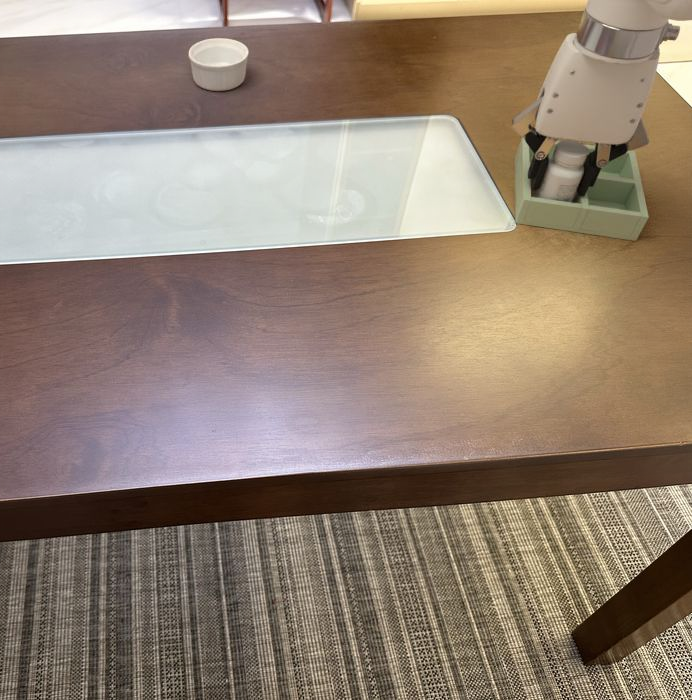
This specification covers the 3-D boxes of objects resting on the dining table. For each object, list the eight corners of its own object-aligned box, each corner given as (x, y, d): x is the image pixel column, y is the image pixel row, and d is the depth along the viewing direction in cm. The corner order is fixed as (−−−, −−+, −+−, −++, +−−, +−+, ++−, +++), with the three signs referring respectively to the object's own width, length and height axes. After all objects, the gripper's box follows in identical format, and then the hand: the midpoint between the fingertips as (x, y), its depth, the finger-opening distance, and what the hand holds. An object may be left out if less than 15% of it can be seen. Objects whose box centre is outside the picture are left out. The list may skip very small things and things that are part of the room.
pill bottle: (575, 203, 87) (599, 147, 81) (558, 220, 85) (582, 163, 79) (541, 188, 89) (562, 132, 83) (524, 204, 87) (545, 148, 81)
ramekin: (182, 90, 107) (181, 62, 104) (198, 61, 113) (197, 34, 110) (240, 97, 106) (241, 69, 103) (253, 68, 111) (254, 40, 108)
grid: (623, 174, 93) (635, 150, 90) (635, 241, 84) (649, 217, 81) (514, 159, 95) (522, 136, 92) (515, 223, 86) (524, 199, 84)
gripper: (703, 25, 72) (629, 178, 86) (529, 8, 75) (483, 159, 89) (718, 59, 68) (637, 216, 81) (530, 40, 70) (482, 195, 84)
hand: (557, 185), depth 85 cm, fingers closed on pill bottle, 4 cm apart
